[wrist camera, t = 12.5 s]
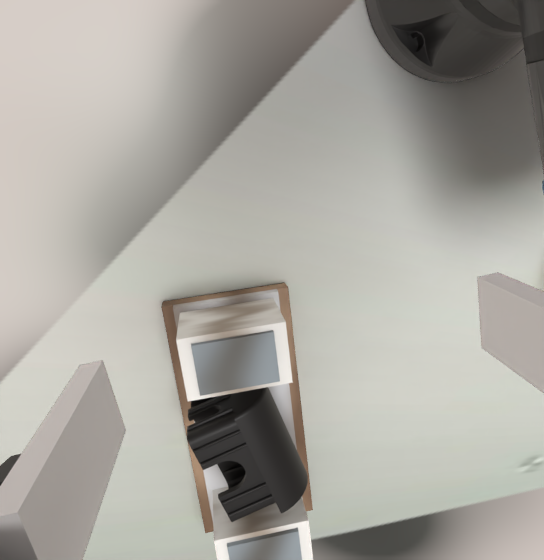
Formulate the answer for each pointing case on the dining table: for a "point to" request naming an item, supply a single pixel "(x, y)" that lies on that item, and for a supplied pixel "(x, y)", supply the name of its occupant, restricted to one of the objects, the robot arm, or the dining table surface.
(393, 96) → the dining table surface
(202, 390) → the rail board
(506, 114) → the dining table surface
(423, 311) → the dining table surface
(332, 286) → the dining table surface
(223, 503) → the end cap
